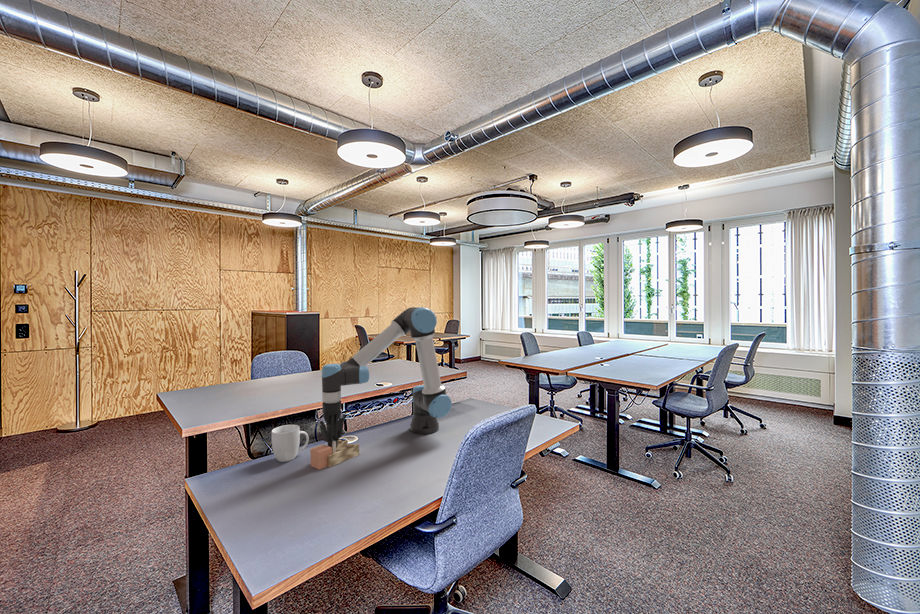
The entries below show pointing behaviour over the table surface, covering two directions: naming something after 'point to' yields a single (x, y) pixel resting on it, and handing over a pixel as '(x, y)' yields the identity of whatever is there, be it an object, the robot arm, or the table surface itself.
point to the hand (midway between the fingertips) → (332, 456)
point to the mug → (287, 442)
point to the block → (320, 456)
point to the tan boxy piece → (343, 452)
